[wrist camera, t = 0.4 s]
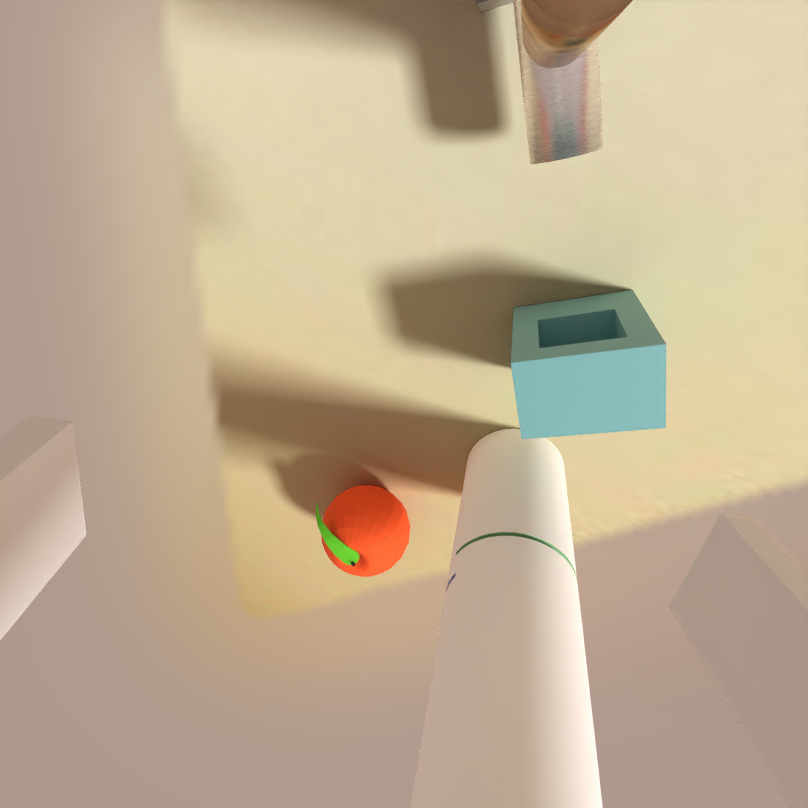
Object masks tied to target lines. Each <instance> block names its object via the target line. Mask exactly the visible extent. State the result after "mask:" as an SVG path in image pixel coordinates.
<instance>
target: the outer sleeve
mask: <svg viewBox="0 0 808 808" xmlns="http://www.w3.org/2000/svg"><path fill="white" fill-rule="evenodd" d="M512 2H513V0H477V5H478V7H479V9H480V12H483V11H487V10H490V9H493V8H496V7H499V6H502V5H506V4H509V3H512Z"/></svg>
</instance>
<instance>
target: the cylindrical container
mask: <svg viewBox="0 0 808 808" xmlns="http://www.w3.org/2000/svg"><path fill="white" fill-rule="evenodd" d="M411 808H603V807H602V798H601V790H600V780H599V771H598V763H597V755H596V746H595V737H594V727H593V718H592V709H591V700H590V691H589V682H588V674H587V665H586V656H585V648H584V638H583V629H582V620H581V612H580V603H579V594H578V585H577V576H576V567H575V558H574V550H573V541H572V532H571V523H570V515H569V506H568V497H567V488H566V480H565V471H564V463H563V460H562V457H561V454H560V453H559V451H558V449H557V448H556V447H555V446H554V445H553V444H552V443H551V442H550V441H549V440H548V439H546V438H545V437H544V438H531V439H522V438H521V431H520V429H515V428H514V429H503V430H499V431H495V432H493V433H490V434H488V435H486V436H485V437H483V438H482V439H480V440H479V441H478V442H477V443H476V444H475V445H474V447H473V448H472V450H471V452H470V453H469V457H468V460H467V466H466V472H465V478H464V485H463V491H462V497H461V503H460V509H459V515H458V521H457V527H456V533H455V539H454V546H453V552H452V558H451V564H450V570H449V576H448V582H447V588H446V594H445V601H444V606H443V613H442V619H441V625H440V631H439V638H438V643H437V649H436V655H435V661H434V668H433V674H432V680H431V686H430V693H429V698H428V705H427V711H426V716H425V723H424V729H423V735H422V741H421V747H420V753H419V759H418V765H417V771H416V778H415V783H414V789H413V796H412V802H411Z"/></svg>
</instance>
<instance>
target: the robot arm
mask: <svg viewBox="0 0 808 808" xmlns="http://www.w3.org/2000/svg"><path fill="white" fill-rule="evenodd" d="M85 536H86V527H85V519H84V511H83V502H82V494H81V486H80V478H79V470H78V462H77V454H76V446H75V438H74V429H73V422H72V421H66V420H58V419H52V418H45V417H38V416H31V415H30V416H28V417H27V418H26V419H24V420H23V421H21V422H20V423H19V424H17V425H16V426H14V427H13V428H12V429H10V430H9V431H7V432H6V433H5V434H3V435H2V436H0V640H1V639H2V638H3V636H4V635H5V634H6V633H7V631H8V630H9V629H10V628H11V626H12V625H13V624H14V623H15V622H16V620H17V619H18V618H19V617H20V616H21V614H22V613H23V612H24V611H25V609H26V608H27V607H28V606H29V604H30V603H31V602H32V601H33V600H34V598H35V597H36V596H37V595H38V593H39V592H40V591H41V590H42V589H43V587H44V586H45V585H46V584H47V582H48V581H49V580H50V579H51V578H52V576H53V575H54V574H55V573H56V571H57V570H58V569H59V568H60V567H61V565H62V564H63V563H64V562H65V560H66V559H67V558H68V557H69V555H70V554H71V553H72V552H73V551H74V549H75V548H76V547H77V546H78V544H79V543H80V542H81V541H82V540H83V538H84V537H85ZM669 607H670V609H671V611H672V612H673V614H674V616H675V617H676V619H677V620H678V622H679V624H680V625H681V627H682V629H683V630H684V632H685V634H686V636H687V637H688V639H689V641H690V642H691V644H692V646H693V647H694V649H695V650H696V652H697V654H698V656H699V657H700V659H701V661H702V662H703V664H704V666H705V667H706V669H707V671H708V672H709V674H710V676H711V677H712V679H713V681H714V682H715V684H716V686H717V687H718V689H719V691H720V692H721V694H722V696H723V697H724V699H725V701H726V703H727V704H728V706H729V708H730V709H731V711H732V713H733V714H734V716H735V717H736V719H737V721H738V723H739V724H740V726H741V728H742V729H743V731H744V733H745V734H746V736H747V738H748V739H749V741H750V743H751V744H752V746H753V748H754V749H755V751H756V753H757V754H758V756H759V758H760V759H761V761H762V763H763V764H764V766H765V768H766V769H767V771H768V773H769V774H770V776H771V778H772V779H773V781H774V783H775V784H776V786H777V788H778V789H779V791H780V793H781V794H782V796H783V798H784V799H785V801H786V803H787V804H788V806H789V808H808V572H807V571H806V570H805V569H804V568H803V567H802V566H801V565H800V564H799V563H798V562H797V561H796V560H795V559H794V558H793V557H792V556H791V555H790V553H789V552H787V550H785V548H784V547H783V546H782V545H781V544H780V543H779V542H778V541H777V540H776V539H775V538H774V537H773V536H772V535H771V534H770V533H769V532H768V531H767V530H766V529H765V528H764V527H763V526H762V525H761V524H760V523H759V522H758V521H757V520H756V519H755V518H752V517H745V516H738V515H731V514H724V513H721V514H720V516H719V518H718V519H717V521H716V523H715V525H714V527H713V528H712V530H711V532H710V534H709V536H708V538H707V539H706V541H705V543H704V545H703V546H702V548H701V550H700V552H699V554H698V555H697V557H696V559H695V561H694V563H693V565H692V566H691V568H690V570H689V572H688V574H687V576H686V577H685V579H684V581H683V583H682V585H681V586H680V588H679V590H678V592H677V593H676V596H675V597H674V599H673V601H672V603H671V604H670V606H669Z"/></svg>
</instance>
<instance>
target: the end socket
mask: <svg viewBox="0 0 808 808" xmlns="http://www.w3.org/2000/svg"><path fill="white" fill-rule="evenodd" d="M511 368H512V375H513V382H514V389H515V396H516V403H517V410H518V417H519V424H520V431H521V438H522V439H531V438H544V437H557V436H569V435H582V434H594V433H607V432H620V431H632V430H645V429H657V428H666V343H665V342H664V340H663V338H662V337H661V335H660V334H659V332H658V330H657V329H656V327H655V325H654V324H653V322H652V321H651V319H650V317H649V316H648V314H647V312H646V311H645V309H644V308H643V306H642V304H641V303H640V301H639V300H638V298H637V296H636V295H635V293H634V291H633V290H628V291H621V292H614V293H608V294H601V295H594V296H588V297H581V298H575V299H568V300H561V301H555V302H548V303H541V304H535V305H528V306H522V307H515V308H514V313H513V331H512V349H511Z"/></svg>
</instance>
